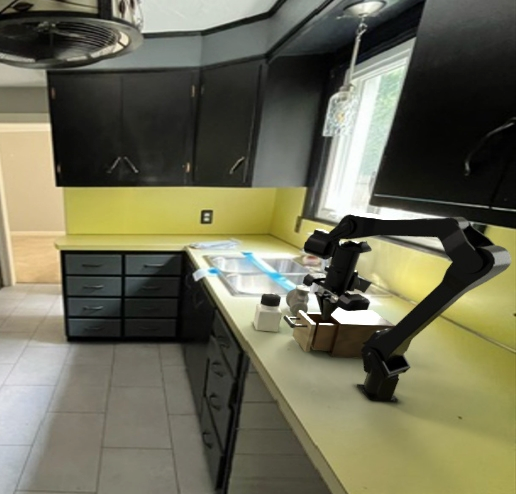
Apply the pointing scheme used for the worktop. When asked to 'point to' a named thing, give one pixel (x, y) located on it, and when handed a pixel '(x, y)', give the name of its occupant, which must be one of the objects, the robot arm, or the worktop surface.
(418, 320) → the robot arm
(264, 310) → the medicine bottle
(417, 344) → the worktop surface
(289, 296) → the pipe fitting
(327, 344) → the drawer
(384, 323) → the cabinet
